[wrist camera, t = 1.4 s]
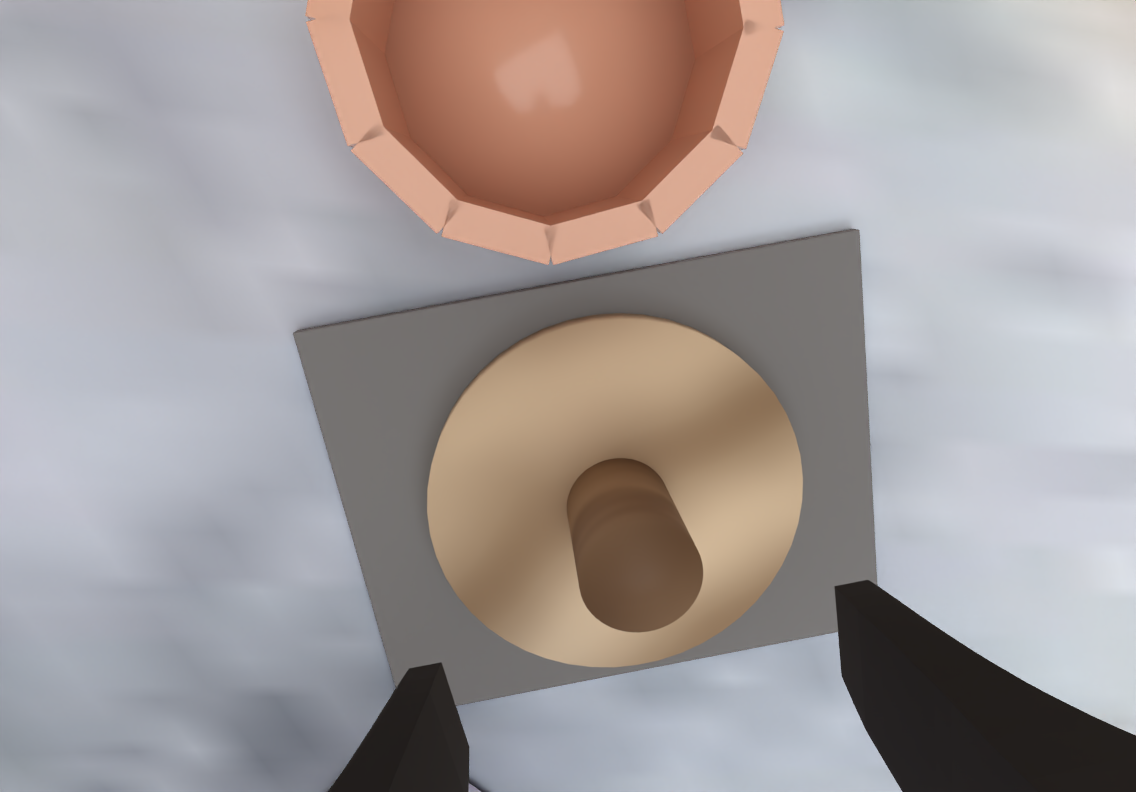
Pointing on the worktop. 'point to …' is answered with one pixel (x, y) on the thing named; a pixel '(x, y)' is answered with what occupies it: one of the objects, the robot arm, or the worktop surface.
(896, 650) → the robot arm
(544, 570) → the lid
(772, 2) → the bowl
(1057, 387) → the worktop surface
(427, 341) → the mat
